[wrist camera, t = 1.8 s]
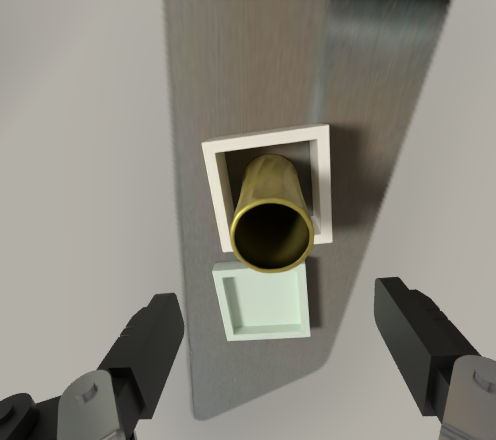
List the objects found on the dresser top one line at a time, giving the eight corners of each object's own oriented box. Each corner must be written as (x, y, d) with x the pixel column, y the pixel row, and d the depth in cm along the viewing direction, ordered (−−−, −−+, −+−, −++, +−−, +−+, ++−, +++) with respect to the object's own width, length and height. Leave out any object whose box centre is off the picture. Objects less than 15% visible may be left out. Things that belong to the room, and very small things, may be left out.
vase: (307, 193, 30) (337, 258, 17) (258, 216, 31) (250, 293, 18) (283, 143, 28) (296, 171, 15) (232, 170, 29) (203, 218, 16)
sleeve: (212, 137, 28) (201, 142, 24) (318, 122, 27) (329, 124, 22) (229, 232, 32) (222, 252, 28) (322, 223, 31) (332, 242, 26)
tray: (215, 262, 34) (212, 271, 32) (303, 255, 33) (305, 263, 31) (229, 329, 38) (227, 341, 36) (308, 325, 37) (310, 336, 35)
